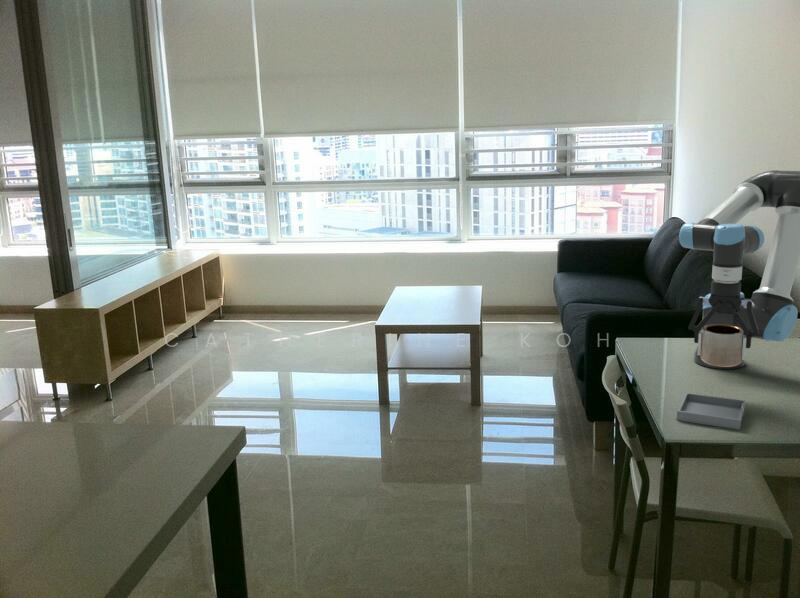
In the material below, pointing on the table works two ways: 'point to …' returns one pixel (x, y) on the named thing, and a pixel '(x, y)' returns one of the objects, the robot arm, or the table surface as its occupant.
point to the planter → (722, 345)
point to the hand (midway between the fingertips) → (721, 356)
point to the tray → (711, 410)
